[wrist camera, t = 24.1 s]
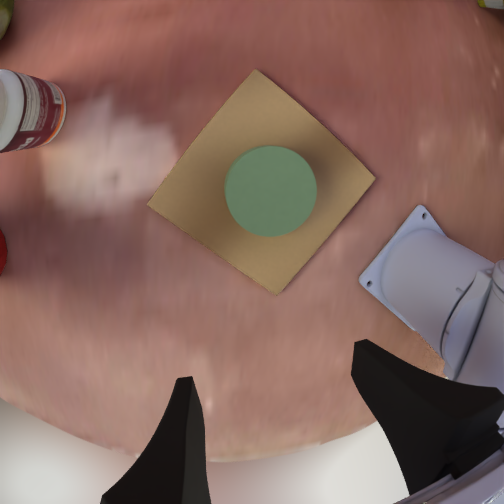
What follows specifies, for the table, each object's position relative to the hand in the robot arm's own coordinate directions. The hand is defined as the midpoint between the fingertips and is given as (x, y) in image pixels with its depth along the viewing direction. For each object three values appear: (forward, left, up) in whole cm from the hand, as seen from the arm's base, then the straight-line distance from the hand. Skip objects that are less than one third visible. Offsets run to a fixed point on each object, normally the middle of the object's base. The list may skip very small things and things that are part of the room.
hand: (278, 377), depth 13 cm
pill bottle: (+19, -1, -11) cm, 22 cm away
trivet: (+3, -6, -10) cm, 12 cm away
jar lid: (+3, -6, -8) cm, 11 cm away
